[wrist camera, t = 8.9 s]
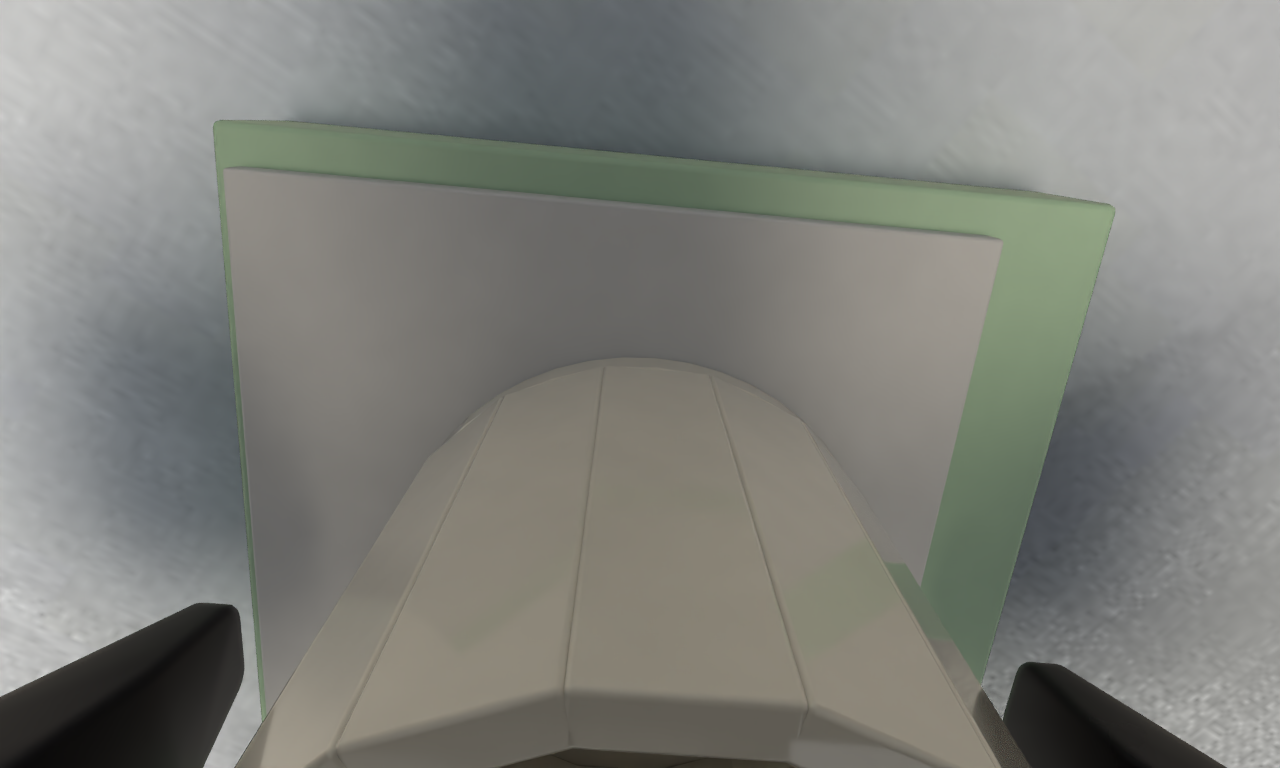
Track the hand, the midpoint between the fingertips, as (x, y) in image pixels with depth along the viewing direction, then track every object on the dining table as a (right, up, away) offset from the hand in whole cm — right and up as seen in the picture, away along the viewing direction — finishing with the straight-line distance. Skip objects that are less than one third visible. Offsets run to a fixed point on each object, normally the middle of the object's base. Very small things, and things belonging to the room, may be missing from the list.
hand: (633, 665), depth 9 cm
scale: (0, +1, +4) cm, 4 cm away
